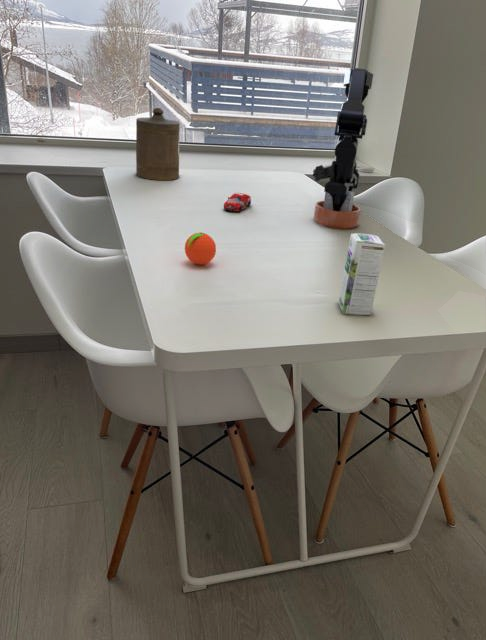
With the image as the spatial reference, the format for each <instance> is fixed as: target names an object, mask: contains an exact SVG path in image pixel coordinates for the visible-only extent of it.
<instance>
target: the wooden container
mask: <svg viewBox="0 0 486 640" xmlns="http://www.w3.org/2000/svg"><path fill="white" fill-rule="evenodd" d="M152 113H153V115H152V116H151V117H147V116H146V117H138V118H136V119H135V120H136V122H135V124H136V126H135V127H136V130H135V133H136V135H135V138H136V139H135V140H136V141H135V160H136V161H135V164H136V165H135V167H136V168H135V169H136V175H137V177H140V178H143V179H147V180H153V181H173V180H174V181H175V180H176V179H179V177H180V128H181V126H180V125H181V124H180V121H178V120H176V119H175V120H174V119H169V118H165V116H164V115H163V114H164V110H163V109H162V108H161V107H155V108H153V110H152Z"/></svg>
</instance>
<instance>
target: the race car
mask: <svg viewBox="0 0 486 640" xmlns="http://www.w3.org/2000/svg"><path fill="white" fill-rule="evenodd" d="M251 203H252V197H251V195H249V194H247V193H241V192H234V193H233V194H231V195H230V196H228V197H227V200H226V201H224V203H223V210H225V211H234V212H237V213H241V212H242V210H244V209H246V208H250V206H251Z"/></svg>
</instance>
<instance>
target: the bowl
mask: <svg viewBox="0 0 486 640" xmlns="http://www.w3.org/2000/svg"><path fill="white" fill-rule="evenodd" d="M323 206H324V200H319V201H317V202H315V204H314V213H313V221H315V223H316V224H318V225H320V226H322V227H326V228H331V229H336V230H337V229H339V230H349V229H354V228H355V227H357V226H358V225H359V223H360V217H361V208H360V206H358V205H356V204H353V205H352V212H342V211H334V210H329V209H325V208H323Z"/></svg>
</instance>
